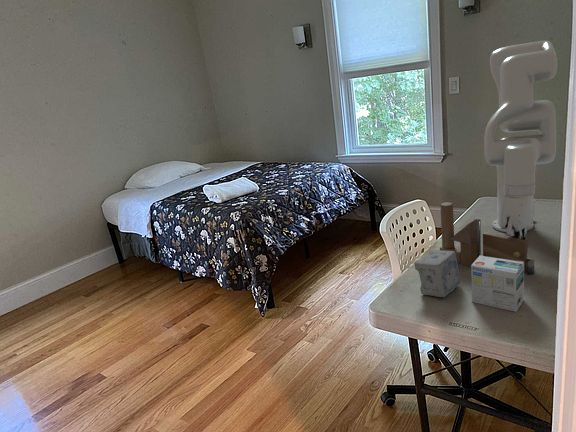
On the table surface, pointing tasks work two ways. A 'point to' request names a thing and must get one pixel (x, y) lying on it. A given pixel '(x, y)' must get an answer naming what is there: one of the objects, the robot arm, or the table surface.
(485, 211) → the table surface
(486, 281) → the light bulb box
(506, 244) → the door
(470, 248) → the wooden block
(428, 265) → the incense holder
